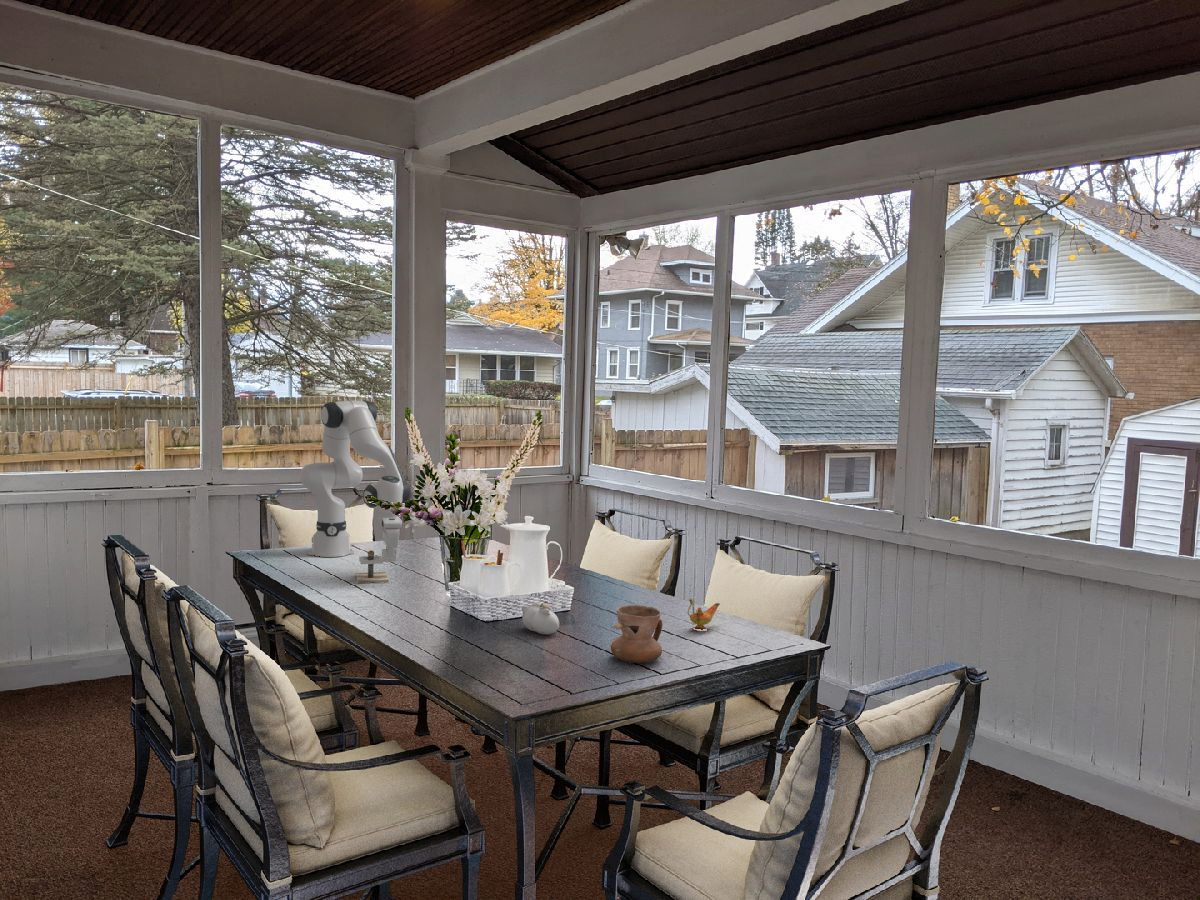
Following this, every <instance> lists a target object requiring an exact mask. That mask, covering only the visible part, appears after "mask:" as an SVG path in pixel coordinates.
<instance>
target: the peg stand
mask: <svg viewBox="0 0 1200 900" xmlns="http://www.w3.org/2000/svg"><path fill="white" fill-rule="evenodd" d="M367 556H368V560H374V556H375V551H374V550H369V551H368V552H367ZM374 566H375V564H367V572H354V573H355V574H354V575H355V579H356V582H358V583H360V584H369V583H368V582H384V583H389V578H388V576H387V574H386V572H385V571H378V572H377V571H375V572H374V570H375V569H374V568H375V567H374ZM366 582H367V583H366ZM358 583H357V584H358Z"/></svg>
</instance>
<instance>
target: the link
mask: <svg viewBox="0 0 1200 900" xmlns="http://www.w3.org/2000/svg"><path fill="white" fill-rule="evenodd" d="M358 559H359V562H360V565H368V564H374V565H382V564H384V563H390V562H391V563H392V562H393V563H394V562H395V563H396V562H397V548H396V549H394V550H393V557H392V558H389V557H388V549H386V548H384V549H383V548H382V549H381V555H374V560H368V555H362V556H359V558H358Z"/></svg>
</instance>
